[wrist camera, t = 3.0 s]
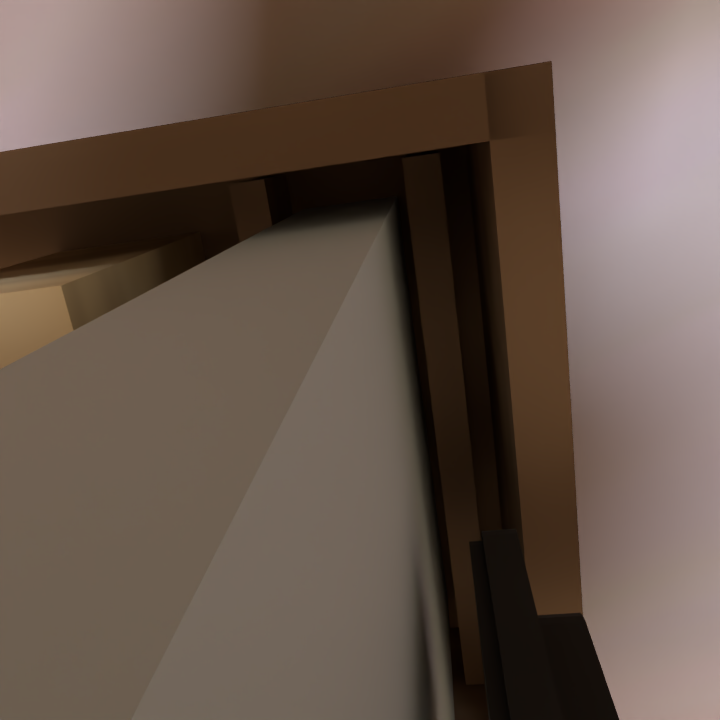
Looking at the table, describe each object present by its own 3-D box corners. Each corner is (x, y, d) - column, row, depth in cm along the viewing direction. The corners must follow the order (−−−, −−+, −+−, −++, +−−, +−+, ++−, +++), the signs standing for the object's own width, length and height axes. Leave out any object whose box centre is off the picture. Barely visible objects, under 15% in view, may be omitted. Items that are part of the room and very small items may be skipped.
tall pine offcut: (57, 252, 18) (-161, 315, 11) (199, 232, 17) (60, 285, 11) (105, 423, 19) (-63, 569, 13) (237, 409, 19) (136, 554, 12)
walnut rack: (-79, 188, 19) (-356, 210, 12) (499, 95, 17) (551, 61, 10) (75, 654, 23) (-64, 857, 17) (541, 626, 21) (595, 845, 15)
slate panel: (303, 209, 17) (-770, 778, 2) (396, 195, 17) (122, 737, 1) (369, 605, 20) (214, 1951, 5) (448, 600, 20) (529, 2017, 5)
